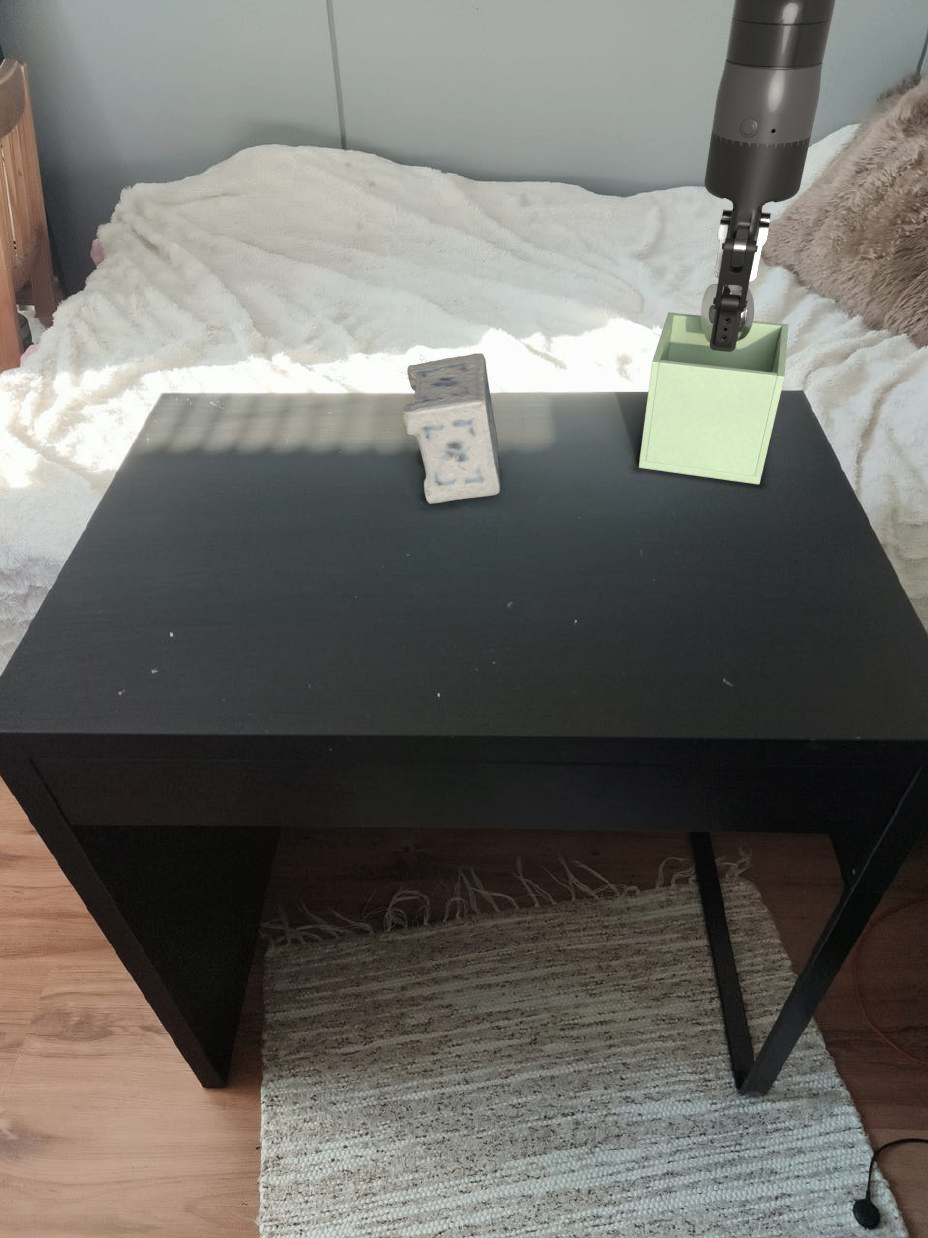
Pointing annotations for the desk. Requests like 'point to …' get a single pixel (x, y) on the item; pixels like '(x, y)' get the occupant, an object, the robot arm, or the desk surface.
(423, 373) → the incense holder
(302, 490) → the desk surface
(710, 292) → the metal grooved wheel
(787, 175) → the robot arm
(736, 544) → the desk surface
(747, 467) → the waste bin
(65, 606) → the desk surface
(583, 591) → the desk surface
